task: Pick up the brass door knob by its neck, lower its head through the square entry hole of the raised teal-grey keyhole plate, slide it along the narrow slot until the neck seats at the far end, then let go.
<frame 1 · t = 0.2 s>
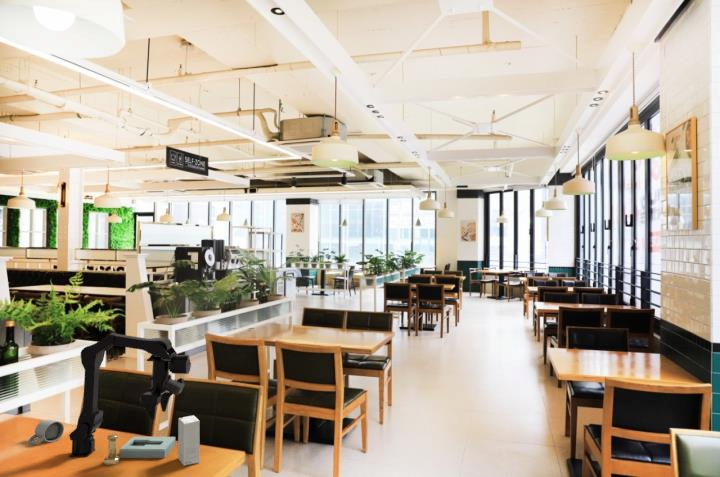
hand: (158, 415, 182), 14 cm above the table, fingers open, 9 cm apart
keyhole plate: (148, 451, 184), on the table
ceramic mug: (45, 441, 191), on the table
brass door knob: (111, 462, 173), on the table
skincare box: (188, 461, 177), on the table
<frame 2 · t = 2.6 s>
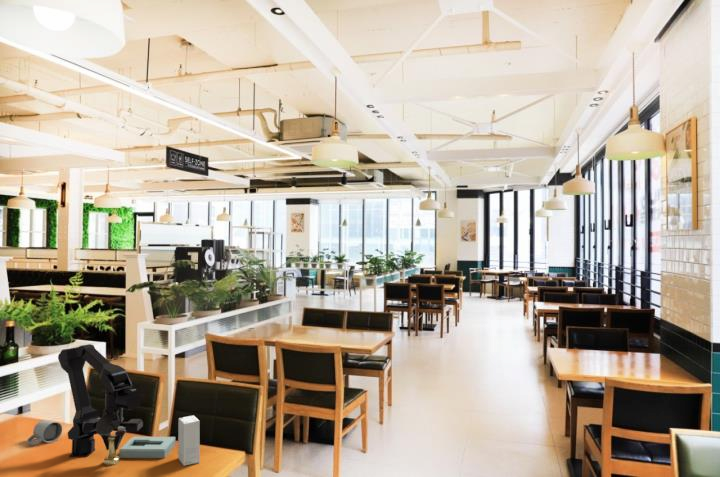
hand: (112, 449, 174), 5 cm above the table, fingers closed on brass door knob, 2 cm apart
brass door knob: (111, 462, 173), on the table, touching gripper
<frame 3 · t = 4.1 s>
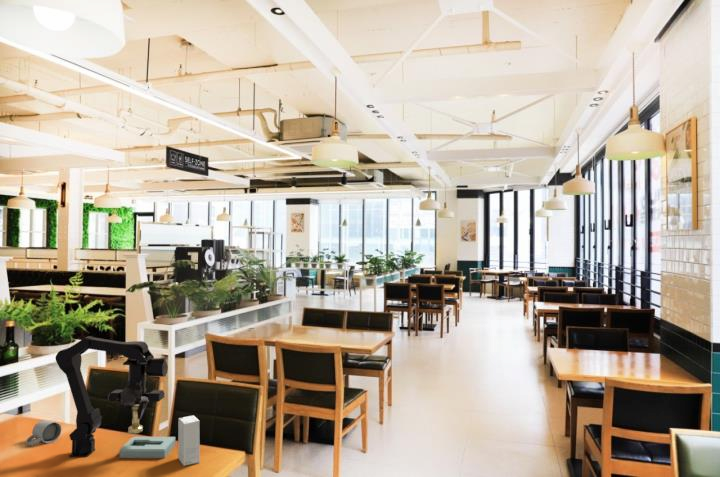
hand: (135, 418, 182), 13 cm above the table, fingers closed on brass door knob, 2 cm apart
brass door knob: (135, 431, 182), point 8 cm above the table, touching gripper
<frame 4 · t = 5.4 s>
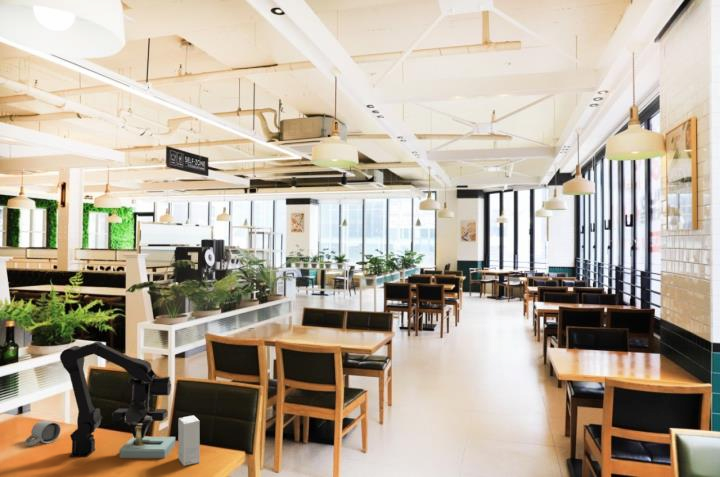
hand: (139, 437, 184), 5 cm above the table, fingers closed on brass door knob, 2 cm apart
brass door knob: (138, 450, 184), resting in keyhole plate, touching gripper
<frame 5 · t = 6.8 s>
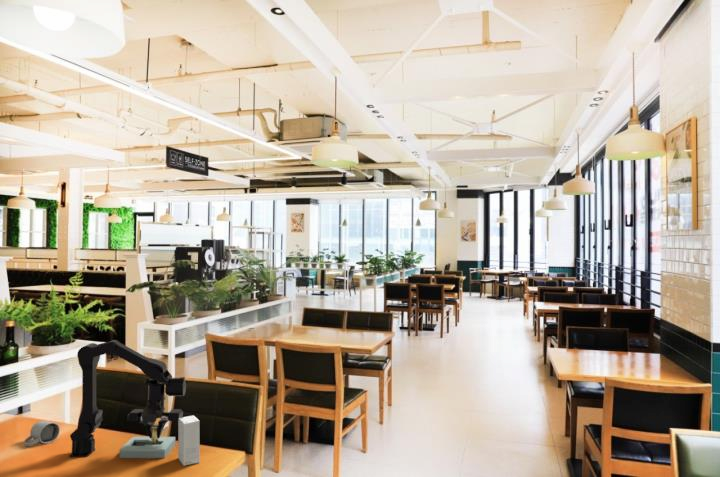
hand: (154, 438, 184), 5 cm above the table, fingers closed on brass door knob, 2 cm apart
brass door knob: (154, 450, 184), resting in keyhole plate, touching gripper
when the fingers open (5 cm above the table, at t = 8.0 s): brass door knob stays where it is, resting in keyhole plate.
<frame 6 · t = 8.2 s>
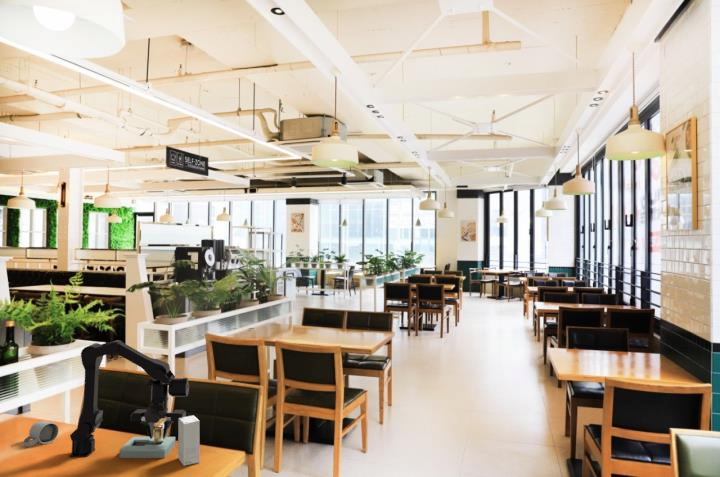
hand: (157, 438, 184), 5 cm above the table, fingers open, 4 cm apart
brass door knob: (157, 451, 184), resting in keyhole plate
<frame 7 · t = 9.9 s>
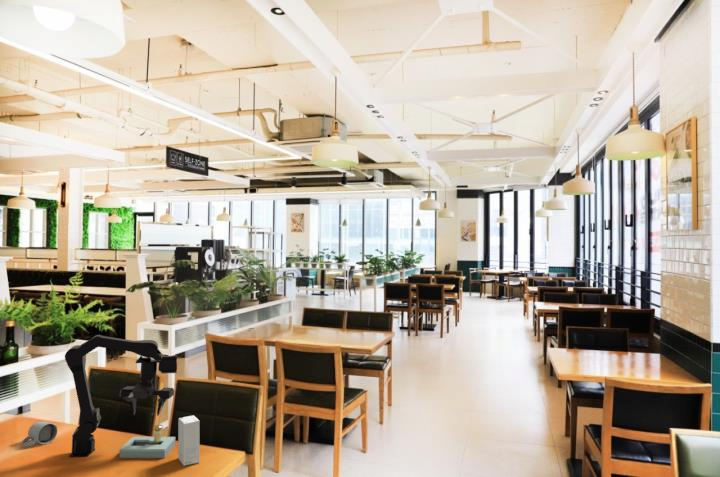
hand: (146, 415, 188), 12 cm above the table, fingers open, 9 cm apart
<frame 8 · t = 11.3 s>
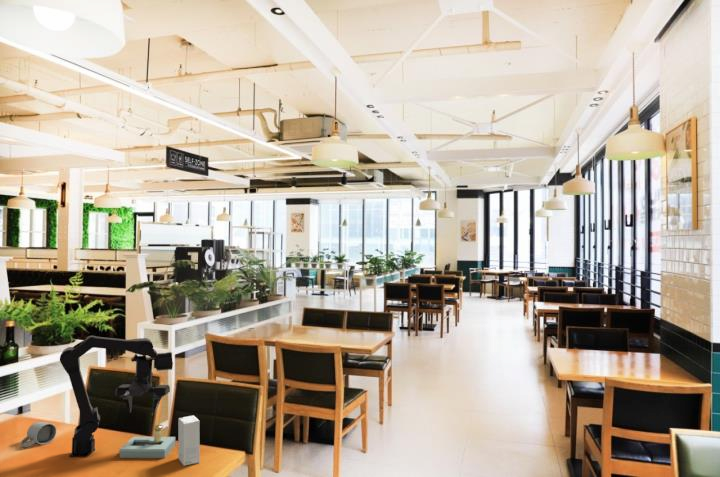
hand: (142, 412, 190), 13 cm above the table, fingers open, 9 cm apart
at the end: brass door knob 0.2 cm from the target spot, resting in keyhole plate; brass door knob tilted 0°; the gripper is holding nothing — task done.
